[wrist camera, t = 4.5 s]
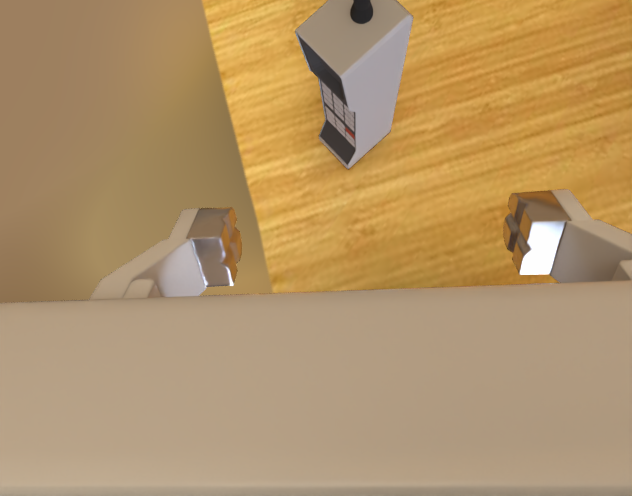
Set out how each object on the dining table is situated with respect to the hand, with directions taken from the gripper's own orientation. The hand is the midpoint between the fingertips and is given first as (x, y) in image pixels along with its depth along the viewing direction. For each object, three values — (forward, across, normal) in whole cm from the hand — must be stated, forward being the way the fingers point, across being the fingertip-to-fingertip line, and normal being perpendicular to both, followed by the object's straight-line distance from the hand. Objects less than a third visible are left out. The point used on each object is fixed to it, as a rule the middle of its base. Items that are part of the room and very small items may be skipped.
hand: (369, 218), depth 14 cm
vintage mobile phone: (+26, 0, +10) cm, 28 cm away
